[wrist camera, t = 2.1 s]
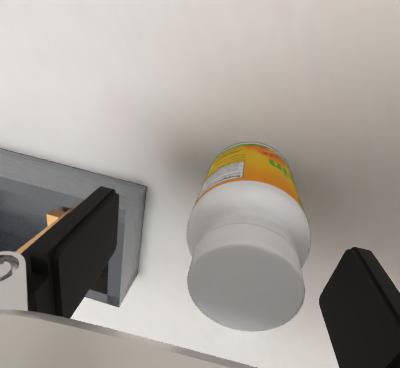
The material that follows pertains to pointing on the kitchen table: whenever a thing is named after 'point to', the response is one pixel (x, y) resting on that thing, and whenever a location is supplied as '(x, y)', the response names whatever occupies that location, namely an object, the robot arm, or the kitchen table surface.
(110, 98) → the kitchen table surface
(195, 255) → the supplement bottle
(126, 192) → the grey rectangular tray
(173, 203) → the kitchen table surface
